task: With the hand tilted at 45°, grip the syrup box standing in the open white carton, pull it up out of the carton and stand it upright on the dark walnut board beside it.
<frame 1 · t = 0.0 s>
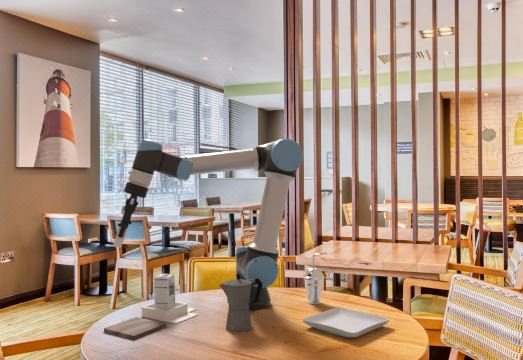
hand: (118, 244, 159), 28 cm above the table, tool tilted 20°, fingers open, 13 cm apart
coffeepot: (241, 327, 157), on the table
syrup box: (164, 315, 172), resting in open carton
walnut board: (135, 329, 156), on the table
open carton: (164, 314, 172), on the table
cup with straw: (314, 303, 186), on the table
salad plate: (345, 329, 156), on the table
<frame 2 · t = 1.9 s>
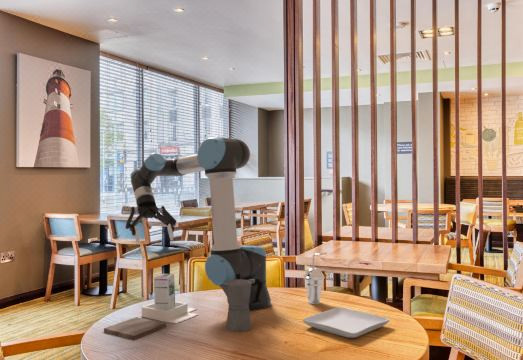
hand: (155, 239, 184), 26 cm above the table, tool tilted 45°, fingers open, 13 cm apart
nothing on the table moved.
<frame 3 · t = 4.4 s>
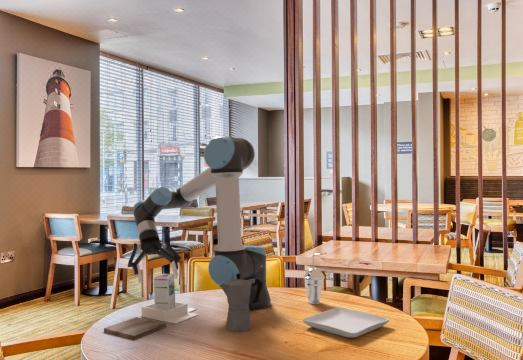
hand: (158, 279, 176), 12 cm above the table, tool tilted 45°, fingers open, 13 cm apart
nothing on the table moved.
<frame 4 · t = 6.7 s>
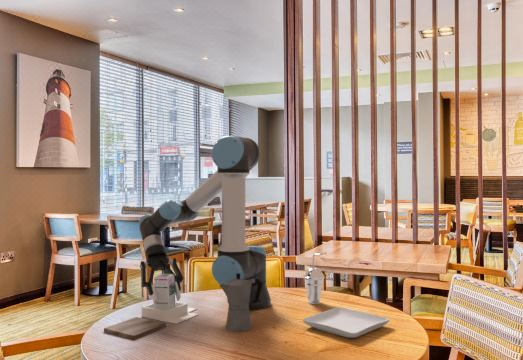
hand: (167, 300, 169), 6 cm above the table, tool tilted 45°, fingers closed on syrup box, 8 cm apart
syrup box: (164, 315, 172), resting in open carton, touching gripper
everything else where it was.
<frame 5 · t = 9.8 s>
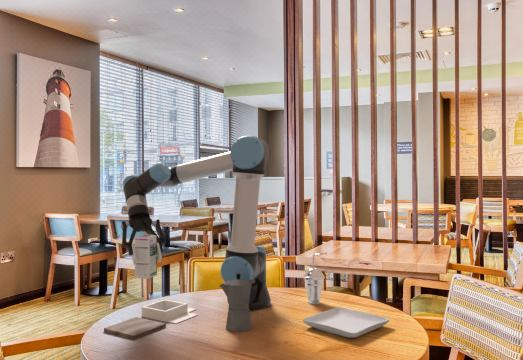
hand: (147, 261, 161), 22 cm above the table, tool tilted 45°, fingers closed on syrup box, 8 cm apart
syrup box: (145, 277, 165), point 15 cm above the table, touching gripper
everything else where it was.
when the fingers open (9 cm above the table, at t = 13.3 s): syrup box drops 2 cm, resting on walnut board.
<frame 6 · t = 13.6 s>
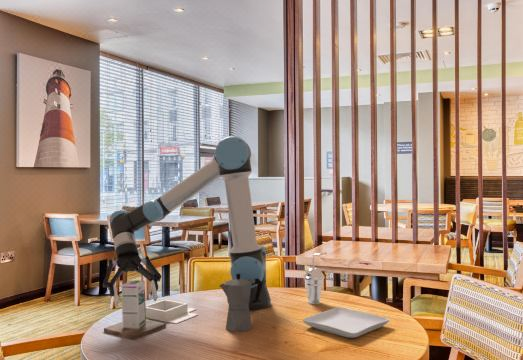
hand: (136, 301, 153), 10 cm above the table, tool tilted 45°, fingers open, 12 cm apart
syrup box: (134, 326, 156), point 1 cm above the table, touching walnut board
everything else where it was.
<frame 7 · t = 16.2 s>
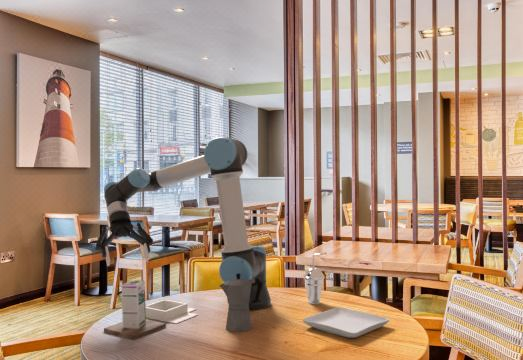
hand: (128, 261, 166), 21 cm above the table, tool tilted 45°, fingers open, 13 cm apart
nothing on the table moved.
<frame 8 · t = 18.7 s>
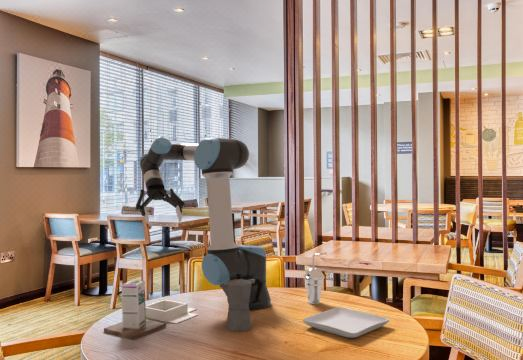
hand: (164, 220, 190), 33 cm above the table, tool tilted 45°, fingers open, 13 cm apart
nothing on the table moved.
at the end: syrup box inside the target area on the walnut board (0.4 cm from its centre), point 1.0 cm above the walnut board's base; syrup box tilted 0°; the gripper is holding nothing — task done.
